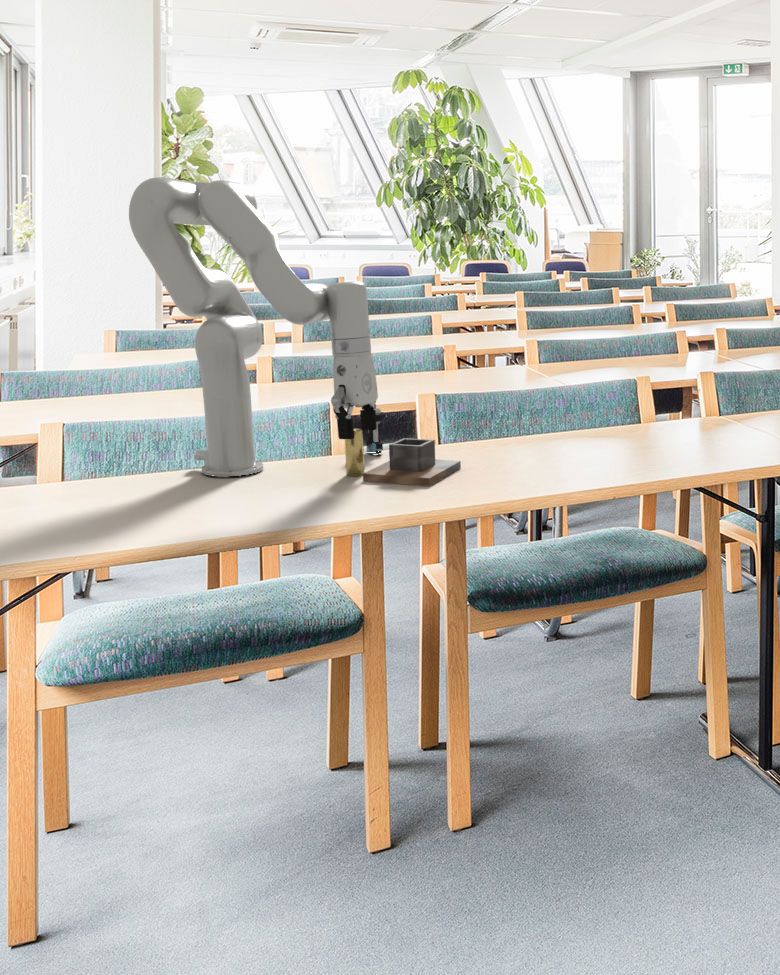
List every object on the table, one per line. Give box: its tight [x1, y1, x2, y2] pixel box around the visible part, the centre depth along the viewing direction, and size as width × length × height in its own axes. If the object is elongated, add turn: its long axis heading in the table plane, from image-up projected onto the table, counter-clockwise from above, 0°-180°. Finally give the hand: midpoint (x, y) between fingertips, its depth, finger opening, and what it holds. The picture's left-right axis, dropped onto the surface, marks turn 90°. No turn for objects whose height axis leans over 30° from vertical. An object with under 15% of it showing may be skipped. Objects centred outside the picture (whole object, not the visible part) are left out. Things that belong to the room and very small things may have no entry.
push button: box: [359, 407, 385, 456], centre depth 204 cm, size 7×5×10 cm
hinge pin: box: [344, 428, 365, 478], centre depth 185 cm, size 4×4×9 cm
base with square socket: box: [362, 437, 461, 487], centre depth 184 cm, size 14×16×6 cm
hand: (358, 434), depth 184 cm, fingers open, 9 cm apart
